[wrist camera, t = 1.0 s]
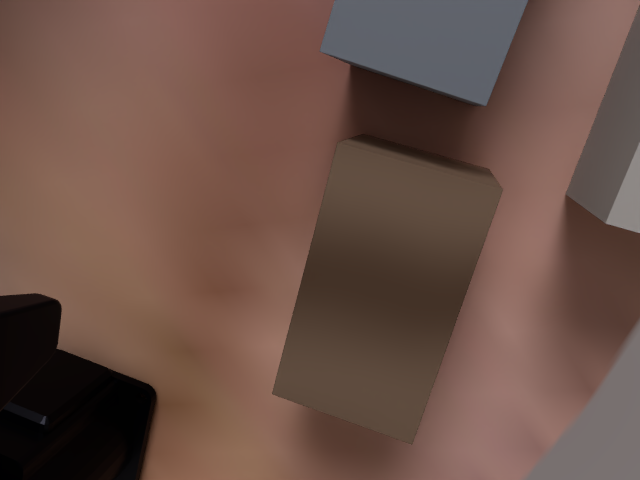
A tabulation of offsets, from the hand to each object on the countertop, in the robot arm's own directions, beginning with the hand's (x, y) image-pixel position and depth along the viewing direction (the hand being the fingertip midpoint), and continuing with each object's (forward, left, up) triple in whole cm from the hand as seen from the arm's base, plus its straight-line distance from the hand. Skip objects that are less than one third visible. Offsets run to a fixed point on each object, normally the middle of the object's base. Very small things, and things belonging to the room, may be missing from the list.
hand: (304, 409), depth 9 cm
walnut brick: (-1, -1, -12) cm, 12 cm away
